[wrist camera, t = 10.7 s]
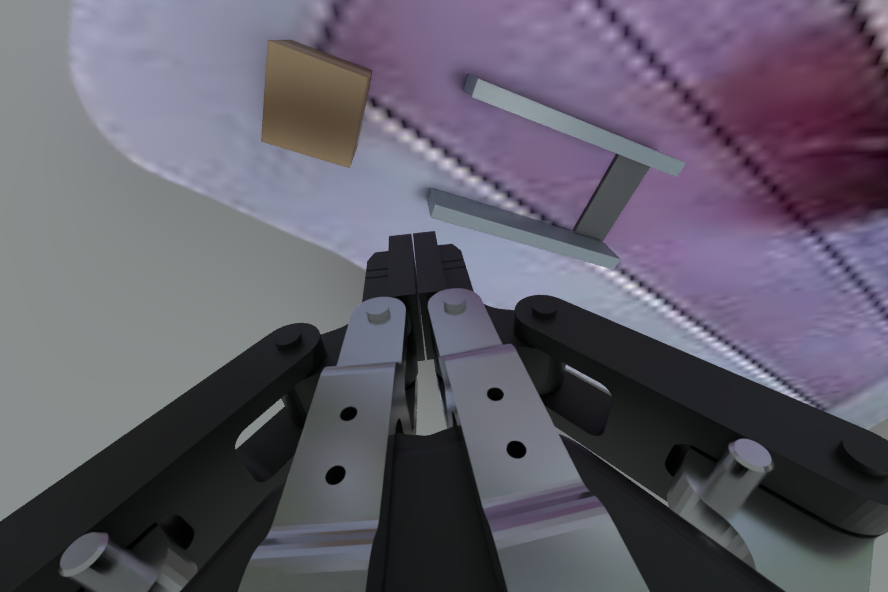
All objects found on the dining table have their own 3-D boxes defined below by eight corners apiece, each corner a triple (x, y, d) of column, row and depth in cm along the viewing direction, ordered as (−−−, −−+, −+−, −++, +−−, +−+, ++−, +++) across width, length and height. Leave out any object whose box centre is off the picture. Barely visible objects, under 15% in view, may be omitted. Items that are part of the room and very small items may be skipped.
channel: (468, 74, 24) (477, 78, 21) (657, 150, 29) (685, 163, 26) (427, 199, 29) (430, 217, 26) (594, 249, 33) (613, 269, 30)
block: (291, 39, 22) (268, 40, 18) (372, 70, 24) (367, 77, 20) (283, 124, 25) (261, 141, 21) (356, 147, 26) (349, 168, 22)
